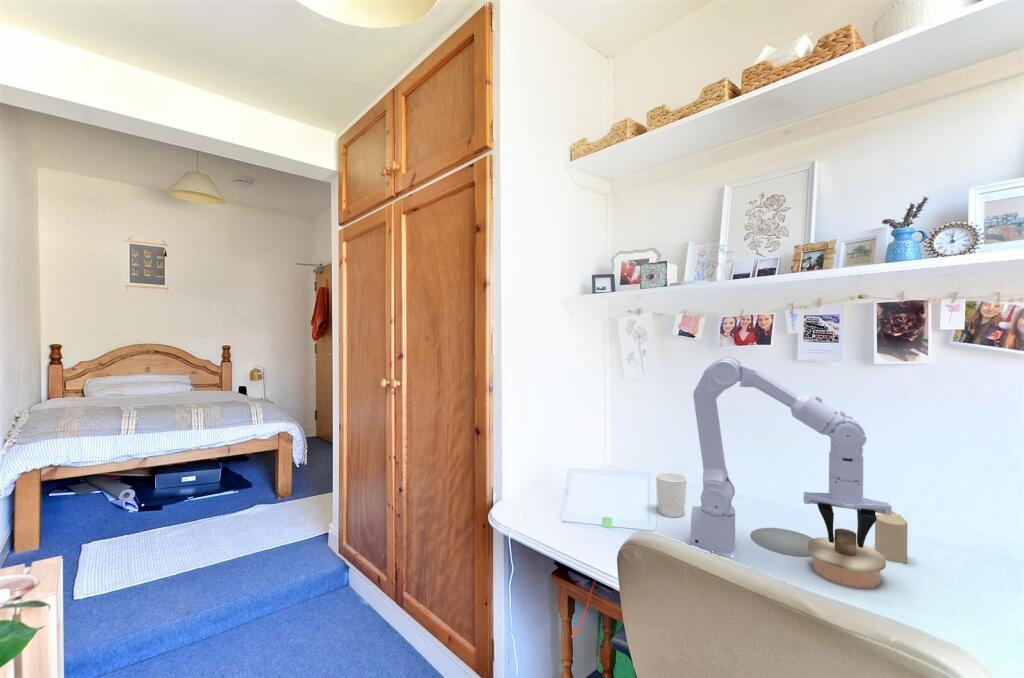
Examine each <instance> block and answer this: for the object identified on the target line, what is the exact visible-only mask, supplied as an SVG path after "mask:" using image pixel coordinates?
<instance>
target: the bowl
mask: <svg viewBox="0 0 1024 678" xmlns="http://www.w3.org/2000/svg"><path fill="white" fill-rule="evenodd" d="M812 568H813V571H814V572H816V573H817V574H818V575H820V577H822V578H823V579H825V580H828V581H830V582H833V583H835V584H837V585H841V586H845V587H850V588H855V589H875V588H876V587H878V586H879V585H881V570H880V571H876V572H860V571H853V570H848V569H844V568H840V567H836V566H833V565H831V564H828V563H826V562H823V561H821V560H819V559H818V558H816V557H815V556H813V557H812Z"/></svg>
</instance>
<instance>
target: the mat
mask: <svg viewBox="0 0 1024 678" xmlns="http://www.w3.org/2000/svg"><path fill="white" fill-rule="evenodd" d="M749 536H750V537H749V538H750V539H751V540H752V542H754V543H755V544H756V545H758V546H759V547H761V548H763V549H764V550H768V551H770V552H772V553H776V554H780V555H783V556H784V555H785V556H790V557H797V558H813V555H812V554H811V553H810V552H809V550H808V542H809V541H810V540H812V539H814V537H812V536H809V535H808V534H804V533H801V532H798V531H796V530H795V531H794V530H790V529H786V528H785V529H784V528H779V527H761V528H757V529H753V530H752V531H751V532H750V534H749Z"/></svg>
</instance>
